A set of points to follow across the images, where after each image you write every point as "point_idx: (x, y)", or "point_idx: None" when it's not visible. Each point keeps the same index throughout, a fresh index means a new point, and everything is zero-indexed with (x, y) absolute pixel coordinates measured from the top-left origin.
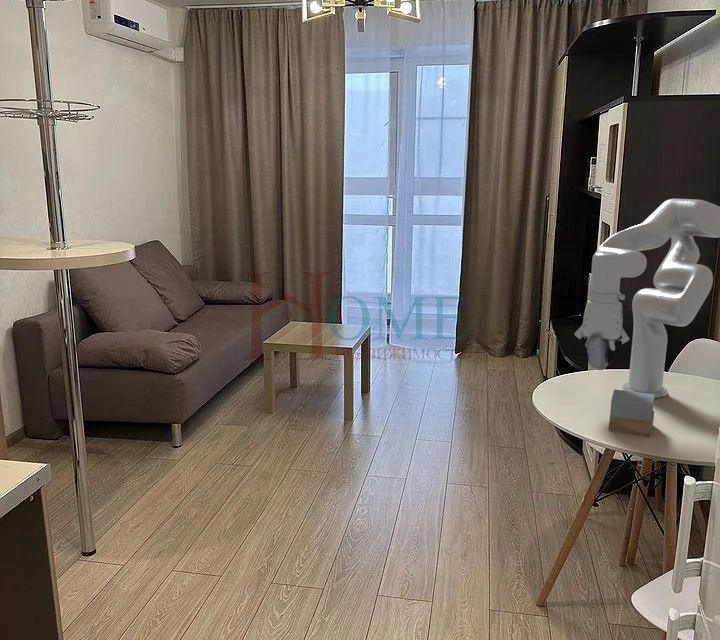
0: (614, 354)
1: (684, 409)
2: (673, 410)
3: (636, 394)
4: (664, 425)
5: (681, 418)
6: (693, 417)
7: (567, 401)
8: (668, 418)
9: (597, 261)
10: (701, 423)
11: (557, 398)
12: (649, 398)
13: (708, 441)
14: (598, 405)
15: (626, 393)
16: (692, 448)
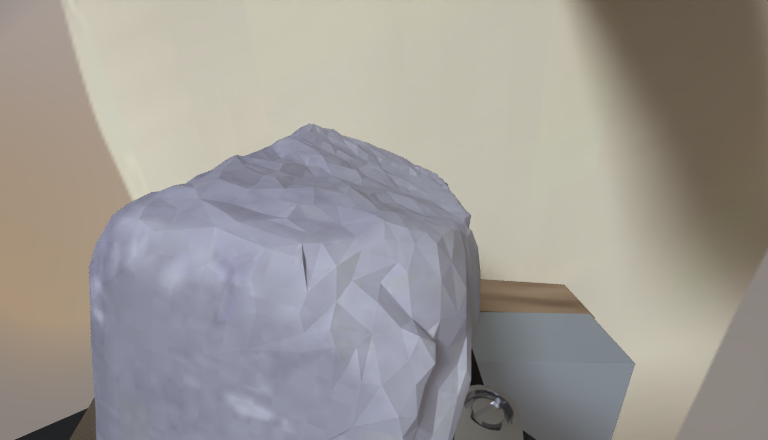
0: (472, 362)
1: (751, 26)
2: (692, 64)
3: (546, 393)
4: (606, 264)
5: (695, 162)
6: (751, 129)
7: (233, 132)
8: (640, 183)
9: None
10: (757, 191)
11: (181, 106)
12: (597, 420)
13: (713, 347)
14: (367, 132)
15: None
16: (645, 409)
